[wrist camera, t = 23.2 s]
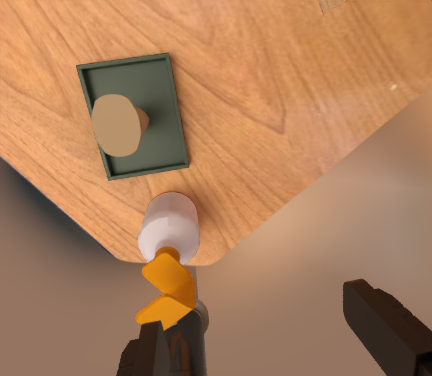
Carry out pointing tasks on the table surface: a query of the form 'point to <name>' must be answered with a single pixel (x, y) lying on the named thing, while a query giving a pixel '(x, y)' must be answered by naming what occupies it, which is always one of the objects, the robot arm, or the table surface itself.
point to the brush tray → (147, 101)
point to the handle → (118, 124)
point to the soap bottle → (169, 256)
